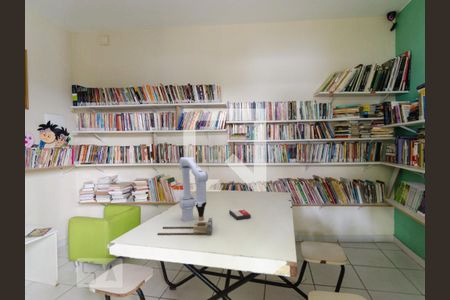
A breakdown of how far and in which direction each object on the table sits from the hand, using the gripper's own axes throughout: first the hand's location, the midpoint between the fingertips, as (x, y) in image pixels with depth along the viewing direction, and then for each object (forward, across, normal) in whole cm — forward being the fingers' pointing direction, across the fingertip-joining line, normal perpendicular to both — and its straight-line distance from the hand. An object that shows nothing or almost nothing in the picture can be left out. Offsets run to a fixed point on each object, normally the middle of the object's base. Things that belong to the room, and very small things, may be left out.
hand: (201, 215), depth 121 cm
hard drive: (+11, -32, +25) cm, 42 cm away
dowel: (+2, 0, 0) cm, 2 cm away
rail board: (+10, 0, -9) cm, 14 cm away
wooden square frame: (+9, 0, 0) cm, 9 cm away
